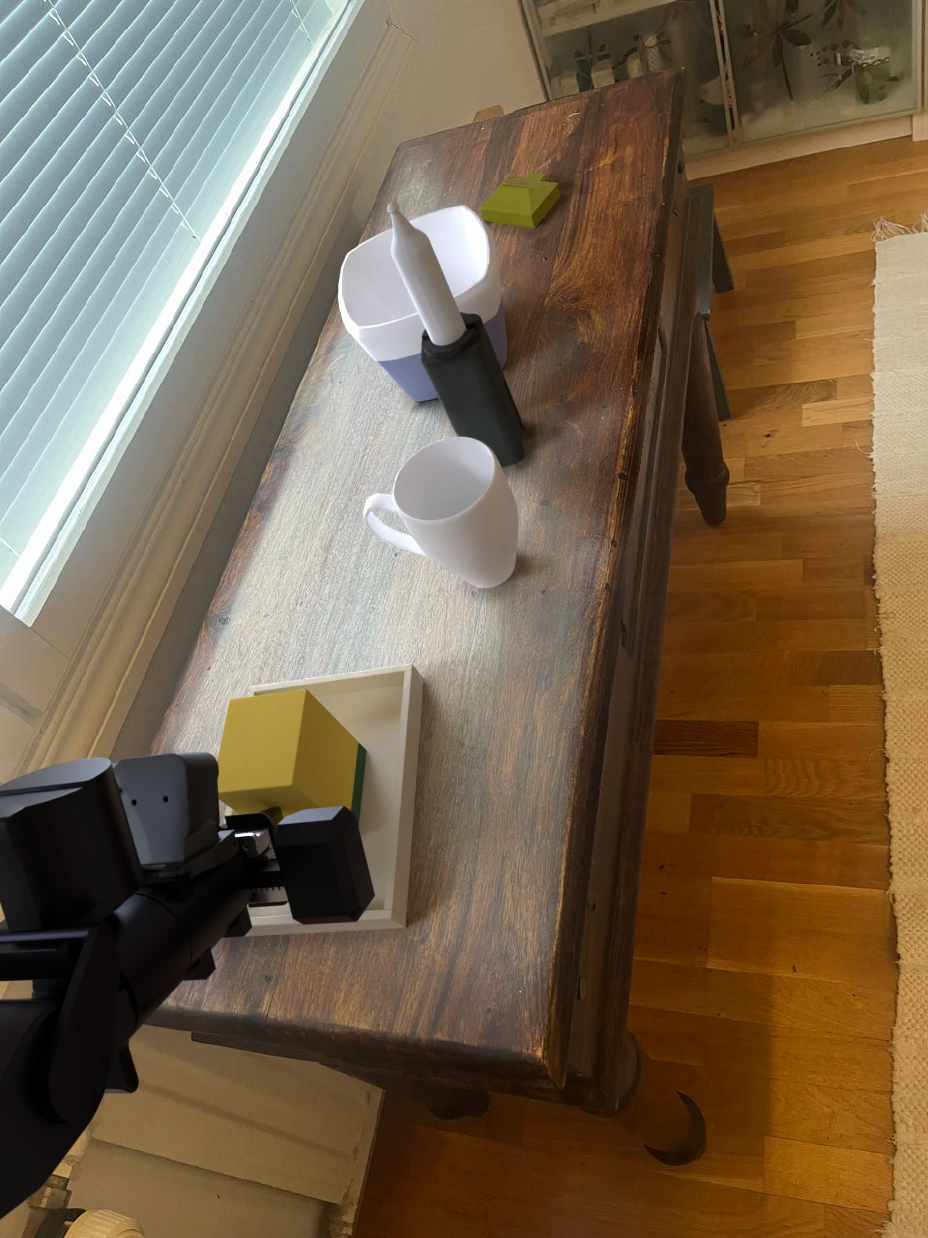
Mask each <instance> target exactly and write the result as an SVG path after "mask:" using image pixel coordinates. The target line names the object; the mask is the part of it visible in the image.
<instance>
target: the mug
mask: <svg viewBox="0 0 928 1238" xmlns="http://www.w3.org/2000/svg"><path fill="white" fill-rule="evenodd" d="M392 486H393V487H392V494H389V493H388V494H387V493H375V494H372V495H370V496H369V497H368V499H367V500H366V501H365V505H364V507H363V521H364V523H365V526H366V527H367V529H368V530H369V532H371V533H372V535H373V536H375V537H376V538H377V539H378V540H380V541H382V542H384V543H385V544H388V545H389V546H392V547H394V548H397V549H400V550H402V551H405V552H408V553H411V554H414V555H417V556H420V557H424V558H426V559H430V560H431V561H432V562H433V563H435V565H437V566H439V567H440V568H442V569H443V570H445V571H446V572H448V573H450V574H451V575H454V576H456V577H458V578H459V579H461V580H462V581H464V582H466V583H468V584H470V585H472V586H474V587H476V588H479V589H492V588H495V587H498V586H500V585H502V584H503V583H505V582H506V581H507V580H509V578H510V577H511V576H512V575H513V573H514V571H515V568H516V564H517V552H518V551H517V550H518V541H519V532H520V531H519V530H520V529H519V528H520V522H519V520H520V518H519V510H518V505H517V502H516V498H515V496H514V493H513V489H512V488H511V485H510V483H509V481H508V479H507V476H506V474H505V472H504V470H503V468H502V467H501V465H500V463H499V461H498V459H497V457H496V455H495V454H494V452H493V451H492V450H491V449H490V448H489V447H488V446H487V445H486V444H484V443H483V442H481V441H479V440H476V439H473V438H468V437H457V436H451V437H447V438H445V437H444V438H441V439H439V440H436V441H433V442H430V443H429V444H427V445H425V446H423V447H422V448H420V449H419V450H417V451H415V453H413V454H412V455H411V456H410V457H409V458H408V459H407V460H406V461H405V462H404V463H403V465H402V466H401V467H400V469H399V471H398V472H397V474H396V476H395V479H394V482H393V485H392ZM374 511H384V512H387V513H391V514H393V515H396V516H399V517H400V519H401V521H402V522H403V523H404V524H403V525H405V527H406V529H407V530H408V532H409V533H410V535H409V534H407V533H405V532H401V531H399V530H396V529H394V528H392V527H391V526H389V525H387V524H385V523H384V522H382V521H381V520H380V519H379V518H378V517H377V516H376V514H375V512H374Z"/></svg>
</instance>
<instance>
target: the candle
mask: <svg viewBox="0 0 928 1238" xmlns="http://www.w3.org/2000/svg"><path fill="white" fill-rule="evenodd" d="M386 210H387V212H388V214H390V216H391V217H390V218H391V226H392V227H393V236H394V237H393V242H392V246H391V254H392V257H393V259H394V261H395V263H396V266H397V268H398V270H399V272H400V274H401V276H402V279H403V281H404V283H405V285H406V287H407V289H408V291H409V294H410V296H411V298H412V300H413V302H414V304H415V307H416V309H417V311H418V313H419V315H420V317H421V320H422V322H423V324H424V326H425V328H426V329H425V330H424V332H423V334H422V342H421V363H422V365H423V367H424V369H425V371H426V373H427V375H428V377H429V379H430V381H431V384H432V386H433V388H434V390H435V392H436V394H437V396H438V400H439V402H440V404H441V406H442V408H443V410H444V412H445V414H446V416H447V418H448V421H449V423H450V425H451V427H452V430H453V431H454V433H455V435H456V437H468V438H473V439H476V440H479V441H481V442H483V443H484V444H486V445H487V446H488V447H489V448H490V449H491V450H492V451H493V452H494V454H495V455H496V457H497V459H498V461H499V463H500V465H501V467H507V466H511V465H516V464H517V463H520V462H521V461H522V460H523V459H524V457H525V456H526V452H527V449H525V445H524V432H525V431H526V428H525V427H526V426H525V425H524V422H523V420H522V417H521V415H520V411H519V409H518V407H517V404H516V402H515V400H514V399H515V398H514V397H513V394H512V391H511V390H510V387H509V385H508V382H507V379H506V376H505V375H504V372H503V368H502V369H501V366H500V364H499V361H498V359H497V356H496V354H495V351H494V349H493V346H492V344H491V341H490V339H489V336H488V334H487V331H486V329H485V326H484V324H483V321H482V319H481V317H480V316H479V315H477V314H467V313H463V312H459V309H458V307H457V305H456V302H455V300H454V297H453V295H452V293H451V290H450V288H449V285H448V283H447V281H446V278H445V276H444V274H443V271H442V269H441V266H440V264H439V262H438V259H437V257H436V254H435V252H434V250H433V247H432V245H431V242H430V240H429V238H428V236H427V235H426V234H425V233H424V232H422V231H420V230H419V229H417V228H415V227H413V226H412V224H411V223H410V222H409V219H407V217H406V216H405V215H404V213H402V212H401V211H400V205H399V204H398V203H397V202H395V201H391V202H389V203H388V205H387V208H386ZM392 227H391V228H392Z"/></svg>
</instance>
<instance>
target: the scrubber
mask: <svg viewBox="0 0 928 1238" xmlns="http://www.w3.org/2000/svg"><path fill="white" fill-rule="evenodd" d="M226 710H227V711H226V716H225V721H224V726H223V731H222V736H221V741H220V745H219V751H218V754H217V755H218V756H217V759H216V760H217V763H218V766H219V776H218V796H219V802H221V803H223V804H225V806H226V807H227V806H229V807H230V808H232V809H233V810H235V811H236V812H237V813H239V814H248V813H257V812H259V811H262V810H265V809H268V808H276V807H280V808H281V811H282V815H283V819H284V818H285V817H286V816H288V815H291V814H293V813H296V812H299V811H301V810H304V809H314V808H325V807H335V806H345V807H347V808H348V809H349V810H351V811H352V812H353V813H355V814H356V818H357V823H358V827H359V819H360V809H361V800H362V790H363V781H364V771H365V762H366V752H367V750H366V749H365V748H364V747H363V746H362V745H361V744H360V743H359V742H358V741H357V740H356V739H355V738H354V737H353V736H352V735H351V734H350V733H349V732H348V731H347V730H346V729H345V727H344V726H343V725H342V724H341V723H340V722H339V721H338V720H337V719H336V718H335V717H334V716H333V715H332V714H331V713H330V712H329V711H328V710H327V709H326V708H325V707H324V706H323V705H322V704H321V703H320V702H319V701H318V700H317V699H316V698H315V697H314V696H313V695H312V694H311V693H310V692H309V691H308V690H307V689H301V690H294V691H287V692H279V693H272V694H265V695H258V696H251V697H248V696H244V697H237V698H231V699H229V701H228V706H227V709H226Z"/></svg>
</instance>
